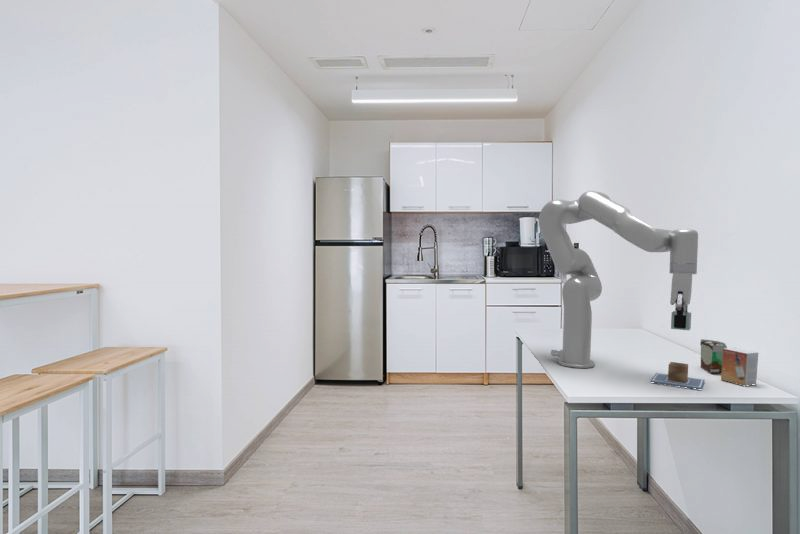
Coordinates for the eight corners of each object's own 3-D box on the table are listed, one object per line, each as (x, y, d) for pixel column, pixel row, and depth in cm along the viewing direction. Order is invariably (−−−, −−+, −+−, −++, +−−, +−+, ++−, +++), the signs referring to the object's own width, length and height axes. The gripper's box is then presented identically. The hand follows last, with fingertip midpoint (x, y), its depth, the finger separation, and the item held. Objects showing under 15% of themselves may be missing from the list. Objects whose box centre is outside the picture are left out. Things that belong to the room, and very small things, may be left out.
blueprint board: (650, 383, 166) (650, 380, 166) (656, 375, 176) (656, 372, 176) (701, 390, 158) (701, 387, 158) (704, 382, 168) (704, 379, 168)
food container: (732, 376, 176) (733, 346, 176) (712, 375, 177) (713, 345, 177) (717, 367, 188) (719, 340, 188) (699, 366, 189) (700, 339, 189)
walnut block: (667, 380, 166) (668, 364, 166) (669, 377, 170) (670, 361, 170) (685, 383, 163) (686, 367, 163) (687, 379, 167) (688, 364, 167)
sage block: (670, 328, 165) (671, 312, 165) (672, 326, 169) (673, 311, 169) (689, 330, 162) (689, 314, 162) (690, 328, 167) (691, 312, 166)
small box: (720, 380, 171) (722, 348, 170) (732, 379, 173) (733, 347, 172) (745, 387, 163) (746, 353, 163) (756, 385, 165) (758, 352, 165)
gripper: (672, 267, 174) (670, 322, 175) (666, 269, 160) (663, 329, 161) (699, 268, 170) (696, 324, 171) (694, 270, 156) (691, 331, 157)
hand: (680, 326), depth 166 cm, fingers closed on sage block, 4 cm apart
